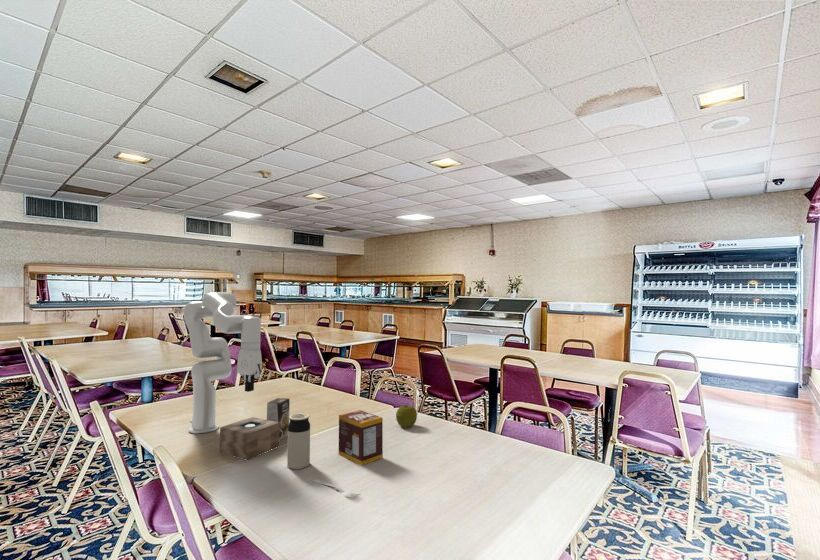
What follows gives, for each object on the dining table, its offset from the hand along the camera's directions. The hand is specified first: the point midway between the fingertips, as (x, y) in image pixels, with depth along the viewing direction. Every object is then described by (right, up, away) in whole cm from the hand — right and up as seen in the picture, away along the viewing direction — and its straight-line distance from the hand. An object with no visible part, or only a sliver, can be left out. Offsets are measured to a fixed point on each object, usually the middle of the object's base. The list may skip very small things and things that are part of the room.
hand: (249, 390), depth 169 cm
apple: (+65, -25, +27) cm, 74 cm away
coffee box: (+8, -24, +12) cm, 28 cm away
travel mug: (+25, -23, -18) cm, 38 cm away
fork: (+41, -23, -35) cm, 59 cm away
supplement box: (+47, -23, -9) cm, 53 cm away
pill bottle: (+1, -23, -3) cm, 23 cm away
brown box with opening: (+1, -23, -3) cm, 23 cm away
